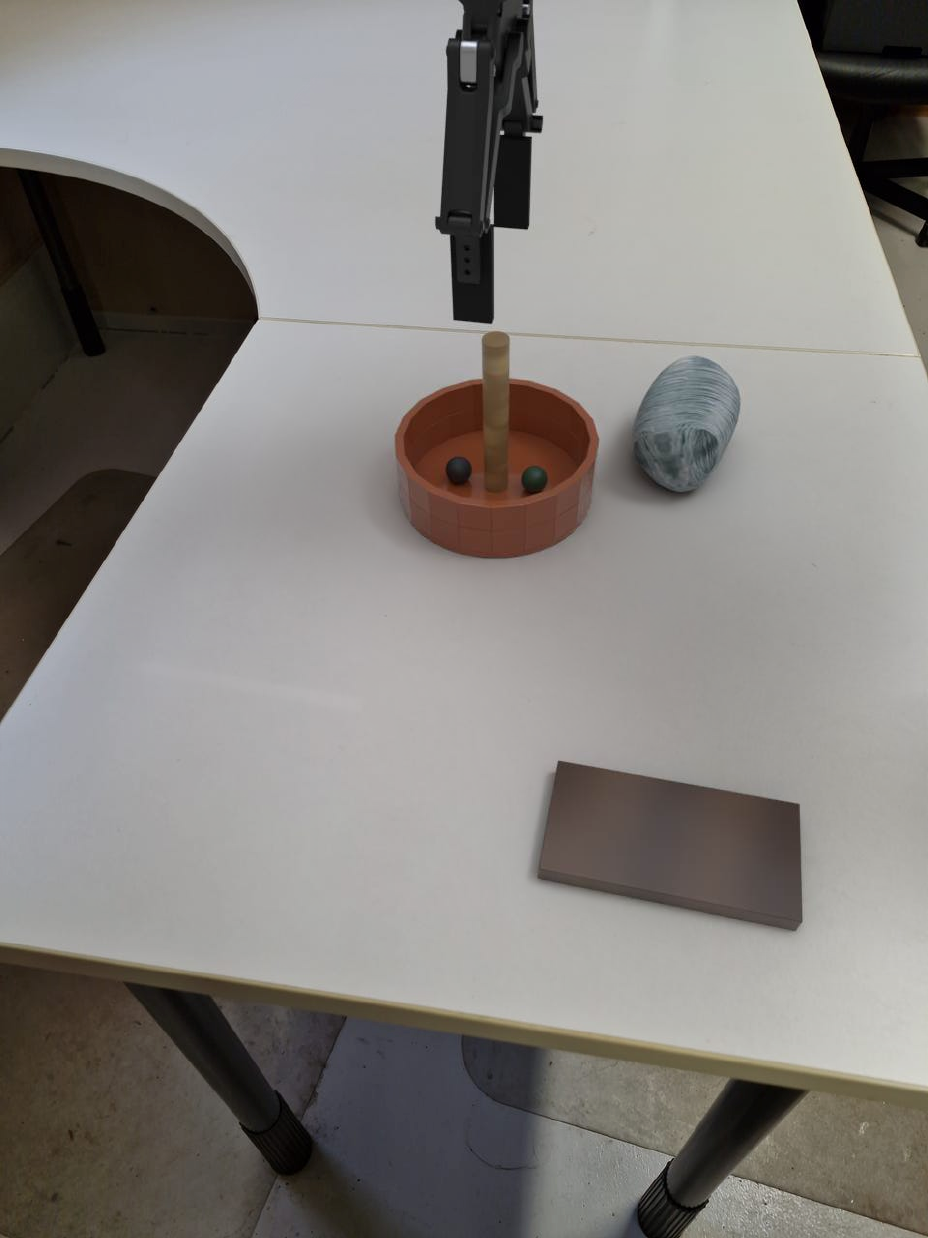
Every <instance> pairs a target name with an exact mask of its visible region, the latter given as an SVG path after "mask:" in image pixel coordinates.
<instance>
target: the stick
mask: <svg viewBox="0 0 928 1238" xmlns="http://www.w3.org/2000/svg"><path fill="white" fill-rule="evenodd" d="M510 350H511V338H510V335H508V333H506V332H503V331H497V330H494V331H489V332H487V333H485V334H483V336H482V337H481V370H482V371H481V373H482V375H481V376H482V377H481V379H482V382H483V439H484V486H485V488H486V489H487V490H489V491H491V492H502V491H504V490H505V489H506V488H507V487H508V465H509V378H510V368H511V367H510V365H511V364H510V362H511V361H510V360H511V357H510V356H511V355H510V354H511V351H510Z"/></svg>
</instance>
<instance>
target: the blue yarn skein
mask: <svg viewBox="0 0 928 1238" xmlns="http://www.w3.org/2000/svg"><path fill="white" fill-rule="evenodd" d="M740 412H741V395H740V391H739V388H738V386H737V385H736V382H735V381H734V379H733V377H732V376H731V375H730V374H729V373H728V372H727V371H726V370H725V369H724V368H723V367H722V366H721V365H720V364H718V363H716V362H715V361H713V360H712V359H709V358H708V357H704V356H700V355H687V356H684V357H681V358H679V359H677V360H675V361H673V362H672V363H671V364H669V365H668V366H666V367H665V368H664V369H663V370H662V371H661V372H660V373H659V374H658V376H656V378H655V379H654V380H653V381H652V383H651V384H650V386H649V387H648V389H647V391H646V392H645V394H644V396H643V398H642V399H641V402H640V405H639V406H638V409H637V412H636V415H635V418H634V422H633V426H632V431H631V447H632V452H633V455H634V456H635V459H636V461H637V462H638V464H639V466H641V468H642V469H643V470H644V472H645V473H646V474H648V476H649V477H650V478H651V479H652V480H653V481H655V483H657V484H658V485H660V486H662V487H664V488H666V489H668V490H670V491H673V492H675V493H676V492H679V493H680V492H681V493H683V492H684V493H685V492H691V491H694V490H696V489H697V488H698V487H699V486H701V485H702V484H703V483H704V482H705V481H706V480H707V479H708V478H709V477H710V475H711V474H712V473H713V472H714V471H715V469H716V468H717V466H718V465H719V463H720V462H721V460H722V458H723V456H724V453H725V452H726V450H727V448H728V446H729V443H730V441H731V438H732V437H733V435H734V432H735V430H736V427H737V424H738V421H739V416H740Z"/></svg>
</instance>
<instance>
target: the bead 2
mask: <svg viewBox="0 0 928 1238" xmlns="http://www.w3.org/2000/svg"><path fill="white" fill-rule="evenodd" d="M547 482H548V476H547V473H546V472H545V470H544V469H543V468H541V467H539V466H530V467H528V468H526V469H525V470H524V472H523V473H522V476H521V483H522V485H523V487H524V488H525V489H526V490H527V491H529V492H532V493H537V492H540V491H542V490H543V489H544V488H545V487H546V485H547Z"/></svg>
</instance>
